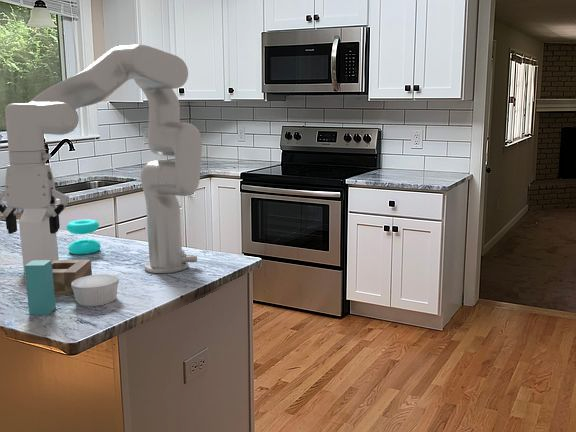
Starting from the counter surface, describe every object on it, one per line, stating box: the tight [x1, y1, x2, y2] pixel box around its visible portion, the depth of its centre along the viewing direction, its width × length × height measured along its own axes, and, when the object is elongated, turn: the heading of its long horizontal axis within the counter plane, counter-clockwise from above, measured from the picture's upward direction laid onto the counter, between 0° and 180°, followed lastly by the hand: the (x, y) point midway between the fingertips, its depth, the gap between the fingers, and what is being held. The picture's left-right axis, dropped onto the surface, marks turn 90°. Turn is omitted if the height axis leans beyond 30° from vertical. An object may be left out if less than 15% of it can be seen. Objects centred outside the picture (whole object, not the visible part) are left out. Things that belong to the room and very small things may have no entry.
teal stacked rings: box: [66, 218, 101, 255], centre depth 201 cm, size 10×10×10 cm
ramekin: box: [71, 273, 120, 307], centre depth 154 cm, size 11×11×5 cm
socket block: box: [51, 259, 93, 296], centre depth 164 cm, size 12×12×6 cm
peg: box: [23, 260, 57, 316], centre depth 146 cm, size 4×4×12 cm
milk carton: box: [18, 208, 60, 272], centre depth 181 cm, size 7×7×19 cm
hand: (33, 232), depth 143 cm, fingers open, 9 cm apart
